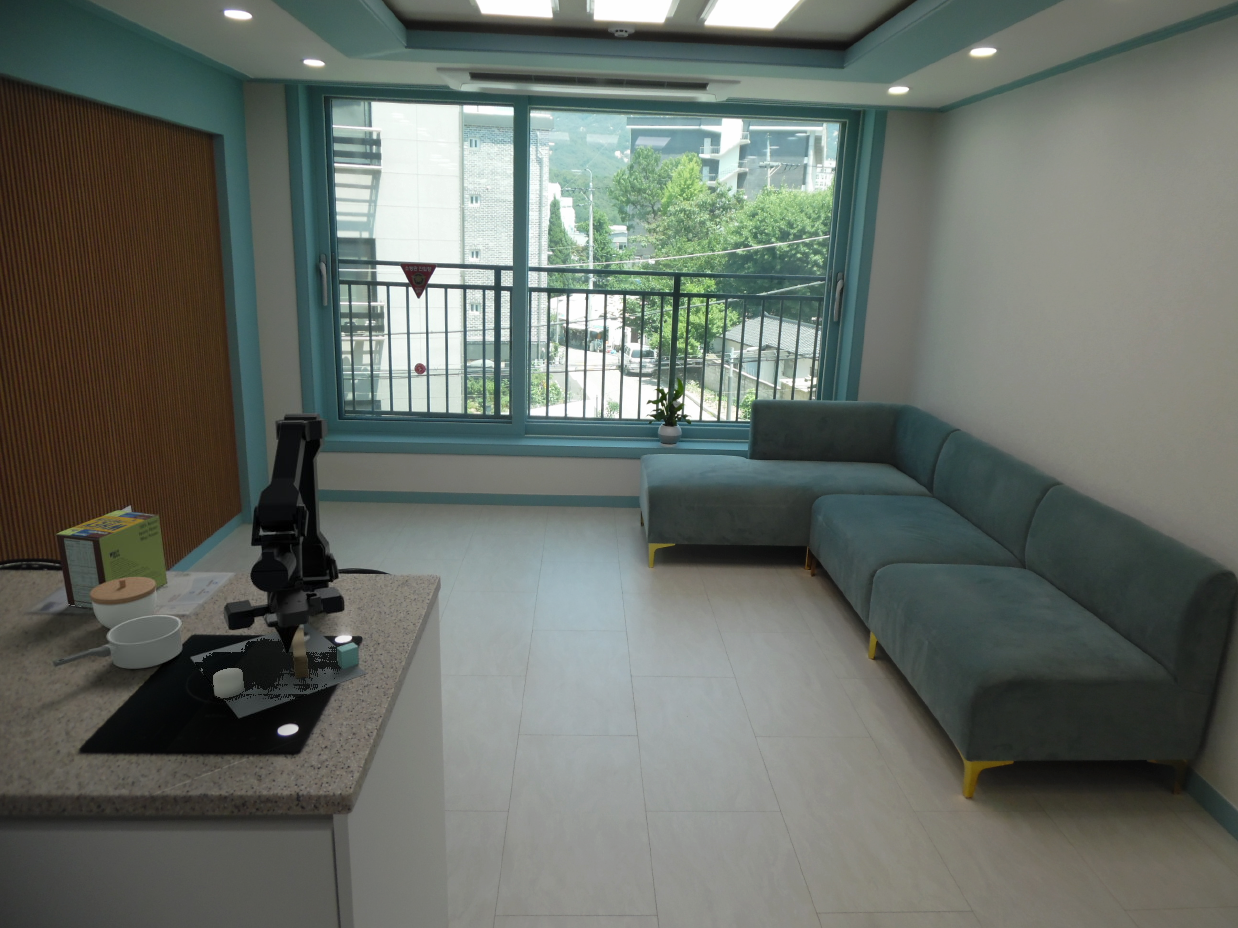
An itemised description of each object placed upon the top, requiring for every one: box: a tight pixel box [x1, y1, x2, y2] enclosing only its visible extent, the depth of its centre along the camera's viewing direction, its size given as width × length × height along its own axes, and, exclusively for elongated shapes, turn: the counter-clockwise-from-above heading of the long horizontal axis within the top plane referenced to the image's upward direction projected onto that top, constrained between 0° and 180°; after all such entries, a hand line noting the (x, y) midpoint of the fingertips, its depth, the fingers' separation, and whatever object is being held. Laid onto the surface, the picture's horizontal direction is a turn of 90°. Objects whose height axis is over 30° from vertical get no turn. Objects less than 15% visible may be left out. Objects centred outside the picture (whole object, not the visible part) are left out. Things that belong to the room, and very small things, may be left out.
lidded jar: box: [90, 577, 158, 631], centre depth 154 cm, size 11×11×9 cm
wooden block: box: [292, 628, 309, 679], centre depth 143 cm, size 13×2×3 cm, turn 24°
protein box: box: [55, 509, 168, 610], centre depth 167 cm, size 10×15×16 cm
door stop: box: [212, 668, 244, 699], centre depth 133 cm, size 4×4×3 cm
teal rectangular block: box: [336, 641, 360, 669], centre depth 142 cm, size 2×3×4 cm, turn 132°
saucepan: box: [52, 614, 183, 670], centre depth 139 cm, size 12×20×6 cm, turn 147°
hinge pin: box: [298, 625, 310, 642], centre depth 151 cm, size 4×4×4 cm
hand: (286, 652), depth 143 cm, fingers closed
